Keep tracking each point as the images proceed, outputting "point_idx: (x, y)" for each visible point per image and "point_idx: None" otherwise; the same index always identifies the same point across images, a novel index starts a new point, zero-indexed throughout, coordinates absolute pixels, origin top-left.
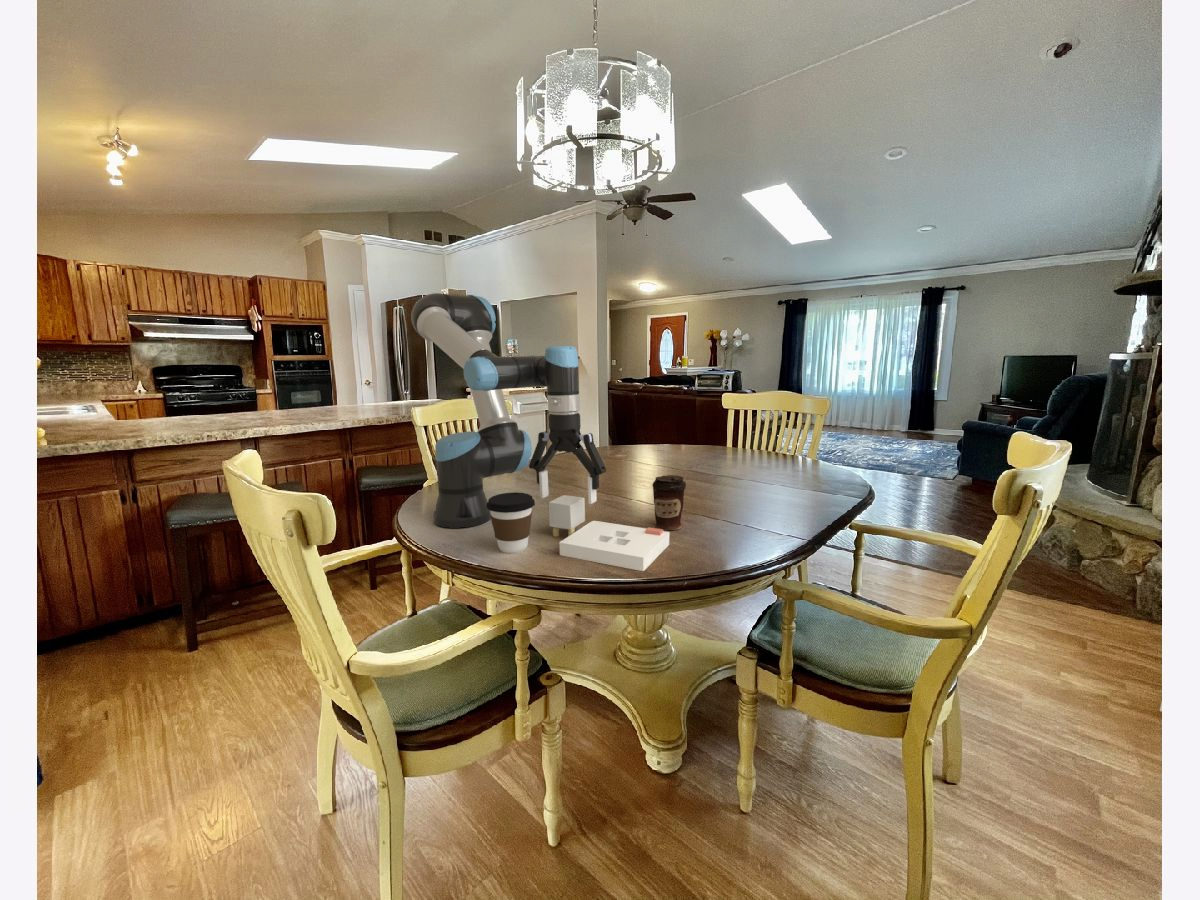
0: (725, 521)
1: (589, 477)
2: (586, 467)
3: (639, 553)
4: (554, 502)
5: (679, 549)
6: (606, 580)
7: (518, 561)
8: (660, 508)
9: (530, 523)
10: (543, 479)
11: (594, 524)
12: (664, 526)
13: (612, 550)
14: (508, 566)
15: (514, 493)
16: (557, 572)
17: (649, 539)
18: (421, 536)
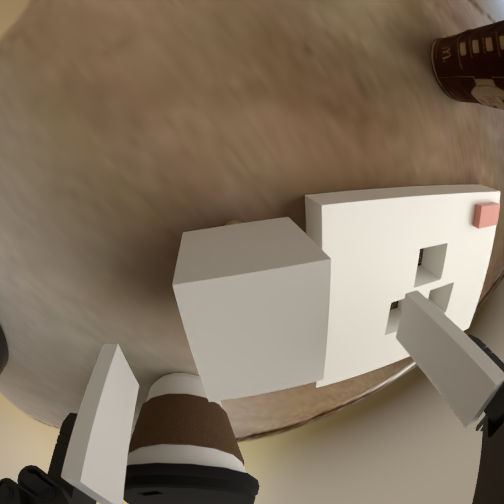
0: (492, 23)
1: (471, 420)
2: (486, 465)
3: (465, 320)
4: (231, 391)
5: None
6: (412, 367)
7: (246, 415)
8: (500, 105)
9: (228, 431)
10: (118, 460)
11: (346, 240)
12: (464, 100)
13: None
14: (246, 428)
15: (146, 491)
16: (337, 399)
17: (479, 254)
18: (18, 404)
